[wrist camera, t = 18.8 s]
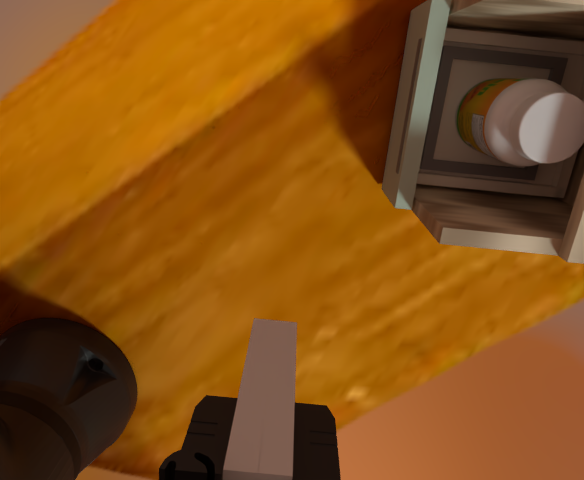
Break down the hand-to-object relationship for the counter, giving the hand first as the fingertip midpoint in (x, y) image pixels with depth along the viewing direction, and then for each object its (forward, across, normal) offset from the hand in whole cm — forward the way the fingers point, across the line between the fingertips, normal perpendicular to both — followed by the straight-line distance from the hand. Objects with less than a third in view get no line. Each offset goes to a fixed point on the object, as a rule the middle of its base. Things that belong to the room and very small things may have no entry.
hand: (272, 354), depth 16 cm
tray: (+24, +15, +8) cm, 29 cm away
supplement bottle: (+23, +14, +8) cm, 28 cm away
